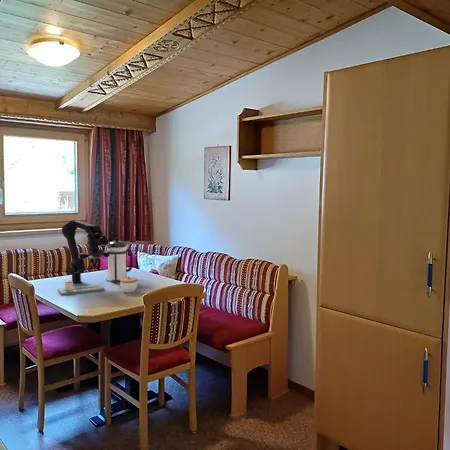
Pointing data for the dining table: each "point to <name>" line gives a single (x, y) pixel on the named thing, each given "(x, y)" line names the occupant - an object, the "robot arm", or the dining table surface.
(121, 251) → the coffee press
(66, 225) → the robot arm
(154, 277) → the dining table surface
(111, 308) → the dining table surface
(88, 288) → the console board
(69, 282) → the block
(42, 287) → the dining table surface
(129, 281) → the lidded jar
